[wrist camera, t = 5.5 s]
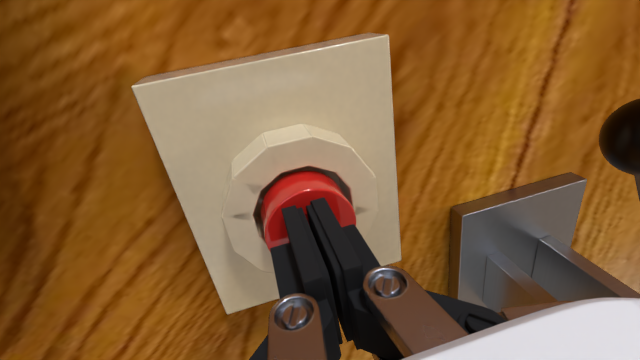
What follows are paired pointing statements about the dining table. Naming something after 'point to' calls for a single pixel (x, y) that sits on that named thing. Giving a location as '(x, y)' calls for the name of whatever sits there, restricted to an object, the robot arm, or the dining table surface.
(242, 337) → the dining table surface
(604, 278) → the bracket
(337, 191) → the button
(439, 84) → the dining table surface
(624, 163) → the lever
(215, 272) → the button block
